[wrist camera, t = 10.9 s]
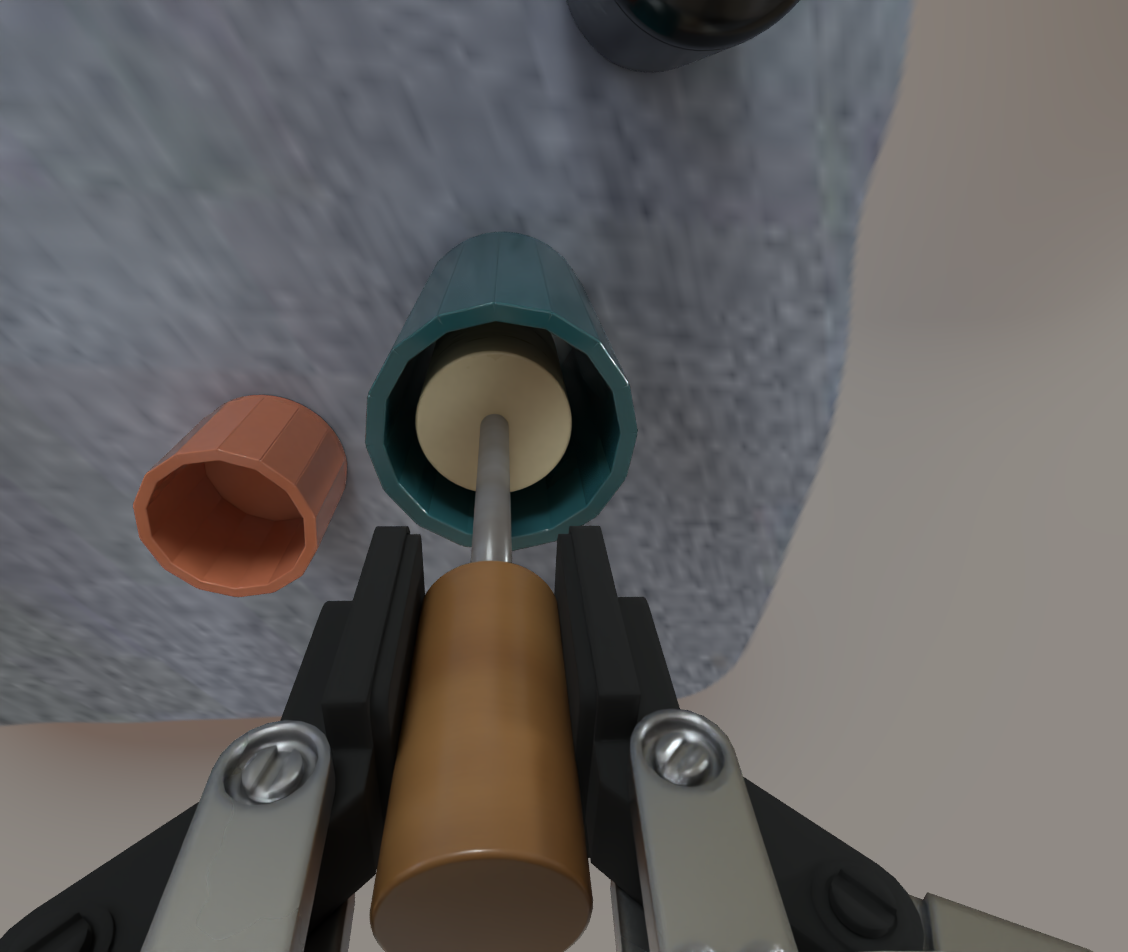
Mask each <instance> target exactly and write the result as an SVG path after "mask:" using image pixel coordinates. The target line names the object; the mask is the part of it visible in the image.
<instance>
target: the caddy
mask: <svg viewBox="0 0 1128 952" xmlns="http://www.w3.org/2000/svg"><path fill="white" fill-rule="evenodd" d="M346 479H347V461H346V455H345V452H344V449H343V446H342V444H341V442H340V441H339V439H338V437H337V435H336V434H335V432H334V431H333V430H332V429H331V427H330V426H329V425H328V424H327V423H326V422H325V421H324V420H323V419H322V418H321V417H320V416H318V415H317V414H316V413H314V412H313V411H311V410H310V409H308V408H306V407H305V406H303V405H301V404H299V403H296V402H294V401H291V400H288V399H285V398H281V397H276V396H269V395H250V396H244V397H240V398H236V399H233V400H231V401H229V402H226V403H224V404H223V405H221V406H220V407H218V408H217V409H216V410H214V411H213V412H212V413H211V414H209V415H208V416H206V417H205V418H203V419H202V420H201V421H200V422H199V423H198V424H197V425H196V426H195V427H194V428H193V429H192V430H191V431H190V432H189V433H188V434H187V435H186V436H185V437H184V438H183V439H181V440H180V441H179V442H178V443H177V444H176V445H175V446H174V447H173V448H172V449H171V450H170V451H169V452H168V453H167V454H166V455H165V456H164V457H163V458H162V459H161V460H160V461H159V462H157V463H156V464H155V465H154V466H153V467H152V468H151V469H150V470H149V471H148V472H147V473H146V474H145V476H144V478H143V481H142V483H141V486H140V488H139V491H138V493H137V495H136V498H135V500H134V503H133V509H134V514H135V519H136V523H137V528H138V533H139V538H140V540H141V541H142V542H143V544H144V545H145V546H146V547H147V549H148V550H149V551H150V552H151V554H152V555H153V556H154V557H155V559H156V560H157V561H158V562H159V564H160V565H161V566H162V567H163V568H164V569H165V570H167V571H168V572H170V573H172V574H174V575H175V576H177V577H179V578H180V579H182V580H184V581H185V582H187V583H189V584H190V585H192V586H194V587H195V588H198V589H200V590H205V591H210V592H214V593H219V594H224V595H228V596H233V597H244V596H252V595H259V594H267V593H273V592H276V591H277V590H279V589H281V588H282V587H284V586H286V585H287V584H289V583H291V582H292V581H294V580H296V579H297V578H299V577H301V576H302V575H303V574H304V572H305V570H306V569H307V567H308V565H309V563H310V561H311V560H312V558H313V556H314V554H315V553H316V551H317V549H318V547H319V544H320V542H321V540H322V538H323V536H324V533H325V531H326V529H327V527H328V525H329V522H330V520H331V518H332V516H333V513H334V511H335V509H336V507H337V505H338V502H339V500H340V498H341V496H342V493H343V491H344V489H345V486H346V484H345V483H346Z"/></svg>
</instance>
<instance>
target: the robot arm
mask: <svg viewBox="0 0 1128 952" xmlns="http://www.w3.org/2000/svg"><path fill="white" fill-rule="evenodd" d="M554 595H555V597H556V600H557V605H558V614H559V622H560V631H561V640H562V649H563V657H564V666H565V675H566V684H567V692H568V701H569V710H570V719H571V727H572V736H573V745H574V754H575V761H576V765H577V770H578V778H579V786H580V795H581V803H582V812H583V820H584V829H585V837H586V846H587V855H588V858H591V863H592V864H593V865H594V866H595V867H596V868H598V869H599V870H600V871H601V872H602V873H604V874H605V875H606V876H607V877H608V878H609V879H611V886H610V890H611V900H612V910H613V920H614V931H615V941H616V952H1093V951H1091V950H1088V949H1086V948H1083V947H1081V946H1078V945H1075V944H1072V943H1069V942H1066V941H1063V940H1061V939H1058V938H1055V937H1052V936H1049V935H1047V934H1044V933H1041V932H1038V931H1035V930H1033V929H1030V928H1027V927H1024V926H1021V925H1018V924H1016V923H1013V922H1010V921H1007V920H1004V919H1001V918H999V917H996V916H993V915H990V914H987V913H985V912H982V911H979V910H976V909H973V908H970V907H968V906H965V905H962V904H959V903H956V902H953V901H951V900H948V899H945V898H942V897H939V896H937V895H934V894H930V893H927V894H926V895H925V897H924V899H923V900H922V899H920V898H917V897H914V896H911V895H909V894H908V893H907V892H906V891H905V890H904V889H903V887H902V886H901V885H900V883H899V882H898V881H897V880H896V879H895V878H894V877H893V876H892V875H890V874H889V873H888V872H886V871H885V870H884V869H883V868H882V867H881V866H879V865H878V864H877V863H875V862H873V861H872V860H871V859H869V858H867V857H866V856H864V855H863V854H861V853H860V852H858V851H857V850H855V849H853V848H852V847H850V846H849V845H847V844H846V843H844V842H843V841H841V840H840V839H838V838H837V837H835V836H834V835H832V834H830V833H829V832H827V831H826V830H824V829H823V828H821V827H820V826H818V825H816V824H815V823H814V822H812V821H811V820H809V819H807V818H806V817H804V816H803V815H801V814H800V813H798V812H797V811H795V810H794V809H792V808H791V807H789V806H787V805H786V804H784V803H783V802H781V801H780V800H778V799H777V798H775V797H774V796H772V795H771V794H769V793H767V792H766V791H764V790H763V789H761V788H760V787H758V786H757V785H755V784H754V783H752V782H751V781H749V780H747V779H746V778H744V777H743V776H742V772H741V769H740V766H739V763H738V760H737V757H736V753H735V750H734V748H733V746H732V744H731V742H730V740H729V738H728V736H727V735H726V734H725V733H724V732H723V731H722V730H721V729H720V728H719V727H718V725H716V724H715V723H713V722H712V721H710V720H709V719H707V718H706V717H704V716H702V715H699V714H697V713H694V712H691V711H688V710H681V709H680V708H679V704H678V701H677V698H676V695H675V691H674V688H673V685H672V681H671V678H670V675H669V671H668V668H667V665H666V661H665V658H664V655H663V651H662V648H661V645H660V641H659V638H658V635H657V632H656V628H655V625H654V622H653V618H652V615H651V612H650V608H649V605H648V603H647V600H646V599H645V598H644V597H617V593H616V589H615V585H614V581H613V576H612V572H611V568H610V564H609V560H608V556H607V552H606V547H605V543H604V539H603V535H602V531H601V528H600V526H570V527H569V533H568V534H558V539H557V556H556V574H555V592H554ZM424 597H425V588H424V572H423V556H422V541H421V535H420V534H410V530H409V527H408V526H377V527H376V528H375V531H374V534H373V537H372V540H371V543H370V547H369V550H368V553H367V556H366V560H365V563H364V566H363V569H362V572H361V576H360V579H359V582H358V585H357V588H356V592H355V595H354V598H353V601H327V602H326V603H325V604H324V606H323V608H322V610H321V612H320V615H319V618H318V620H317V623H316V626H315V628H314V631H313V634H312V637H311V639H310V642H309V645H308V647H307V650H306V653H305V656H304V658H303V661H302V664H301V666H300V669H299V672H298V675H297V677H296V680H295V683H294V685H293V688H292V691H291V693H290V696H289V699H288V702H287V704H286V707H285V710H284V712H283V715H282V718H281V721H278V722H272V723H267V724H265V725H262V726H260V727H257V728H255V729H252V730H250V731H248V732H247V733H245V734H244V735H242V736H241V737H239V738H238V739H236V740H235V741H233V742H232V743H231V745H229V746H228V747H227V749H225V751H223V752H222V754H221V755H220V757H219V758H218V760H217V762H216V763H215V765H214V767H213V768H212V771H211V774H210V776H209V778H208V781H207V784H206V786H205V788H204V791H203V793H202V796H201V799H200V801H199V802H198V803H196V804H195V805H193V806H192V807H190V808H189V809H187V810H186V811H184V812H183V813H181V814H180V815H178V816H177V817H175V818H173V819H172V820H170V821H169V822H168V823H166V824H164V825H163V826H161V827H160V828H158V829H157V830H155V831H154V832H152V833H151V834H149V835H148V836H146V837H145V838H143V839H142V840H140V841H138V842H137V843H135V844H134V845H132V846H131V847H129V848H128V849H126V850H125V851H124V852H122V853H120V854H119V855H117V856H116V857H114V858H113V859H111V860H110V861H108V862H106V863H105V864H103V865H102V866H100V867H99V868H97V869H96V870H94V871H93V872H91V873H90V874H88V875H87V876H85V877H84V878H82V879H81V880H79V881H78V882H76V883H74V884H73V885H71V886H70V887H68V888H67V889H66V890H64V891H62V892H61V893H59V894H58V895H57V896H55V897H53V898H52V899H50V900H49V901H47V902H46V903H44V904H43V905H41V906H39V907H38V908H36V909H35V910H33V911H32V912H31V913H30V914H28V915H27V916H26V917H24V918H23V919H22V920H20V921H19V922H18V923H17V924H15V925H14V926H13V927H12V928H10V929H9V930H8V931H7V932H6V933H5V934H4V936H3V937H2V938H1V939H0V952H348V948H349V941H350V933H351V926H352V920H353V913H354V906H355V892H356V891H357V890H359V889H360V888H361V887H362V886H363V885H364V884H365V883H366V882H368V881H369V880H370V879H371V878H372V877H373V876H374V875H375V874H376V869H377V866H378V860H379V854H380V848H381V842H382V836H383V830H384V824H385V818H386V812H387V806H388V800H389V794H390V788H391V782H392V776H393V771H394V765H395V759H396V753H397V747H398V741H399V735H400V729H401V723H402V717H403V711H404V705H405V699H406V693H407V687H408V681H409V675H410V669H411V663H412V657H413V651H414V645H415V639H416V633H417V627H418V621H419V615H420V609H421V604H422V601H423V599H424Z"/></svg>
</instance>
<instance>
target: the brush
mask: <svg viewBox="0 0 1128 952" xmlns="http://www.w3.org/2000/svg"><path fill="white" fill-rule="evenodd" d="M415 425H416V433H417V437H418V440H419V444H420V446H421V448H422V451H423V453H424V454H425V456H426V457H427V459H428V461H429V462H430V463H431V464H432V465H433V467H434V468H435V469H436V470H437V471H438V472H439V473H440V474H442V475H443V476H444V477H446V478H447V479H448V480H450V481H452V482H453V483H455V484H457V485H459V486H461V487H464V488H466V489H469V490H473V491H476V494H475V508H474V523H473V537H472V551H471V563H468V564H465V565H462V566H459V567H457V568H454V569H453V570H451V571H449V572H447V573H446V574H444V575H443V576H442V577H440V578H439V579H438V580H437V581H436V582H435V583H434V584H433V585H432V586H431V587H430V589H429V590H428V591H427V593H426V595H425V597H424V599H423V601H422V604H421V609H420V615H419V621H418V627H417V633H416V639H415V645H414V651H413V657H412V663H411V669H410V675H409V681H408V687H407V693H406V699H405V705H404V711H403V717H402V723H401V729H400V735H399V741H398V747H397V753H396V759H395V765H394V771H393V776H392V782H391V788H390V794H389V800H388V806H387V812H386V818H385V824H384V830H383V836H382V842H381V848H380V854H379V860H378V866H377V872H376V878H375V884H374V890H373V896H372V902H371V908H370V924H371V928H372V932H373V935H374V937H375V939H376V941H377V943H378V944H379V945H380V946H381V948H382V949H383V950H384V951H385V952H564V951H566V950H567V949H568V948H570V947H571V946H572V945H573V944H574V943H575V942H576V941H577V940H578V939H579V938H580V937H581V936H582V934H583V933H584V931H585V930H586V928H587V926H588V923H589V921H590V918H591V913H592V909H593V897H592V889H591V881H590V872H589V863H588V855H587V846H586V837H585V829H584V820H583V812H582V803H581V795H580V786H579V778H578V770H577V765H576V761H575V754H574V745H573V736H572V727H571V719H570V710H569V701H568V692H567V684H566V675H565V666H564V657H563V649H562V640H561V631H560V622H559V614H558V605H557V600H556V597H555V595H554V593H553V592H552V590H551V589H550V587H549V586H548V585H547V584H546V583H545V582H544V581H543V580H542V579H541V578H540V577H539V576H538V575H536V574H535V573H534V572H532V571H530V570H528V569H526V568H524V567H522V566H519V565H516V564H513V563H512V543H511V500H510V492H513V491H517V490H520V489H523V488H526V487H528V486H530V485H532V484H534V483H536V482H538V481H539V480H541V479H542V478H543V477H545V476H546V475H547V474H548V473H549V472H550V471H551V470H553V469H554V467H555V466H556V465H557V464H558V463H559V461H560V460H561V458H562V456H563V455H564V453H565V451H566V449H567V446H568V444H569V440H570V437H571V430H572V415H571V409H570V404H569V400H568V396H567V392H566V388H565V384H564V379H563V375H562V371H561V367H560V363H559V358H558V354H557V350H556V346H555V343H554V339H553V337H552V335H551V333H550V332H549V331H547V330H545V329H540V328H534V327H527V326H521V325H515V324H509V323H502V322H496V321H495V322H491V323H487V324H482V325H478V326H474V327H470V328H465V329H461V330H457V331H452V332H448V333H446V334H445V335H443V336H442V337H441V338H439V339H438V340H437V341H436V344H435V347H434V351H433V354H432V357H431V361H430V364H429V367H428V371H427V374H426V377H425V381H424V384H423V388H422V391H421V394H420V398H419V401H418V404H417V409H416V420H415Z"/></svg>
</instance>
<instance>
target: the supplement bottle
mask: <svg viewBox="0 0 1128 952" xmlns="http://www.w3.org/2000/svg"><path fill="white" fill-rule="evenodd" d="M799 1H800V0H567V3H568V6H569V9H570V12H571V14H572V17H573V19H574V21H575V23H576V25H577V26H578V28H579V30H580V31H581V33H582V34H583V36H584V37H585V39H586V40H587V41H588V42H589V44H590V45H591V46H592V47H593V48H594V49H595V50H596V51H597V52H598V53H600V54H601V55H602V56H603V57H604V58H606V59H608V60H609V61H611V62H612V63H614V64H616V65H618V66H620V67H623V68H626V69H629V70H633V71H637V72H650V73H655V72H663V71H668V70H672V69H675V68H679V67H682V66H684V65H687V64H690V63H692V62H695V61H698V60H700V59H703V58H705V57H708V56H710V55H713V54H716V53H718V52H721V51H723V50H726V49H728V48H731V47H734V46H736V45H739V44H741V43H743V42H745V41H748V40H750V39H752V38H754V37H755V36H757V35H759V34H760V33H762V32H764V31H765V30H767V29H769V28H770V27H771V26H773V25H774V24H775V23H777V22H778V21H779V20H781V19H782V18H783V17H784V16H785V15H786V14H787V13H788V12H790V11H791V9H792V8H793V7H794V6H795V5H796V4H797V3H798V2H799Z"/></svg>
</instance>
